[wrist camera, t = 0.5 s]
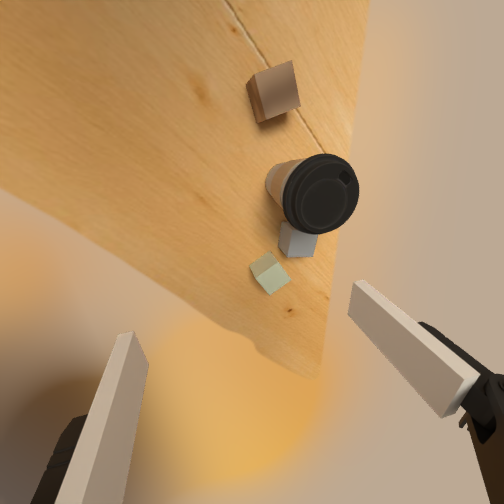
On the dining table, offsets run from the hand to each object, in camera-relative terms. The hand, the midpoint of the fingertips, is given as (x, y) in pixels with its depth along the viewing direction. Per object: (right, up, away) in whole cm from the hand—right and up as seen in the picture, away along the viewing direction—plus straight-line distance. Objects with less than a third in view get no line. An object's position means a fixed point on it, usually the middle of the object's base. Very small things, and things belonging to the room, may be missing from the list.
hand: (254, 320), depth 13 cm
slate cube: (+7, +8, +30) cm, 31 cm away
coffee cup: (+5, +16, +25) cm, 30 cm away
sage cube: (+3, +1, +31) cm, 31 cm away
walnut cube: (+2, +27, +19) cm, 33 cm away
